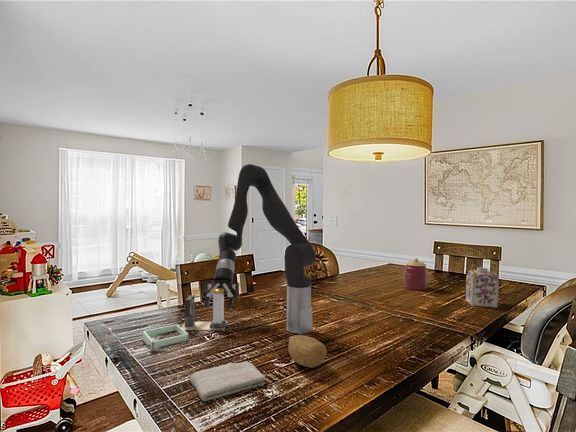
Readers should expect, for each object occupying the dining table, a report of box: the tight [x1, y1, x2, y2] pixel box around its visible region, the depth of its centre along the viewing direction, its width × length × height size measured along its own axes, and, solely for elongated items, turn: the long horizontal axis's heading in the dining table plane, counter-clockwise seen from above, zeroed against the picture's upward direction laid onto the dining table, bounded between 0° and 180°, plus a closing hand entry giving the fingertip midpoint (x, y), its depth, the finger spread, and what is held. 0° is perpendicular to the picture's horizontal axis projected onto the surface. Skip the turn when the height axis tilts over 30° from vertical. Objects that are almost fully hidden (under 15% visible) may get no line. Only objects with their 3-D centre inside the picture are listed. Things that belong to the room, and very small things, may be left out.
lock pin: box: [212, 288, 225, 324], centre depth 132 cm, size 4×4×14 cm
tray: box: [141, 323, 190, 352], centre depth 119 cm, size 12×12×3 cm
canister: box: [403, 257, 428, 291], centre depth 202 cm, size 13×13×18 cm
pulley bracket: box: [180, 295, 228, 331], centre depth 132 cm, size 17×9×12 cm, turn 92°
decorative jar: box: [465, 266, 500, 309], centre depth 170 cm, size 12×12×18 cm
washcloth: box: [188, 360, 266, 402], centre depth 92 cm, size 12×18×3 cm, turn 121°
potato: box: [287, 334, 328, 369], centre depth 103 cm, size 10×14×8 cm
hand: (218, 307), depth 132 cm, fingers open, 8 cm apart
